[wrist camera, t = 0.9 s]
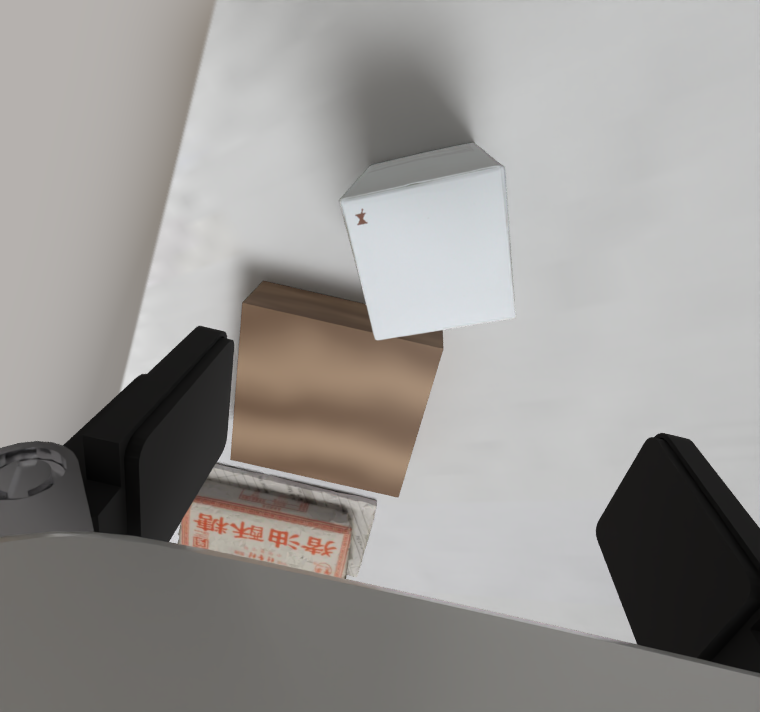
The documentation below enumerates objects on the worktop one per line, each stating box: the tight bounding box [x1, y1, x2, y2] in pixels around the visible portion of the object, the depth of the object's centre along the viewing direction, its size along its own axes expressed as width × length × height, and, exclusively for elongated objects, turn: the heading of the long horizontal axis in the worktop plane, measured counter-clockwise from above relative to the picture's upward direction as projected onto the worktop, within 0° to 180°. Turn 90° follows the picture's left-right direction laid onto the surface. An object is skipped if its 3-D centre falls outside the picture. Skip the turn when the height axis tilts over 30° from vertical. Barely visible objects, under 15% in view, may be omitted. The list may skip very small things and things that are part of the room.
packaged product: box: [178, 464, 377, 579], centre depth 47 cm, size 18×5×10 cm
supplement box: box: [339, 143, 516, 340], centre depth 28 cm, size 7×7×13 cm
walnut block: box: [230, 281, 443, 497], centre depth 39 cm, size 14×14×5 cm
